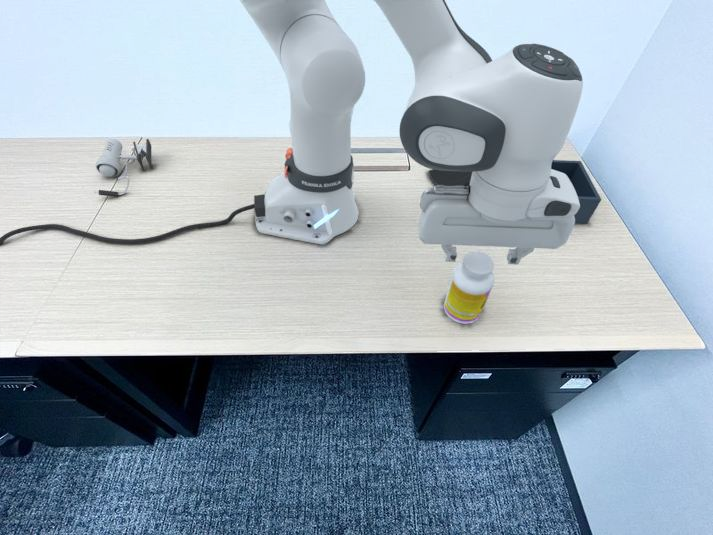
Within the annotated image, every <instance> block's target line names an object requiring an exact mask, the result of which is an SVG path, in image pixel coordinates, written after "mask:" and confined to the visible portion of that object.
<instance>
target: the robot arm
mask: <svg viewBox="0 0 713 535" xmlns="http://www.w3.org/2000/svg"><path fill="white" fill-rule="evenodd" d="M373 1H374V2H375V4H376V5H377V6H378V7H379V9H380V10H381V12H382V14H383V15H384V16H385V18H386V20H387V22H388V23H389V25H390V26H391V28H392V29H393V31H394V32H395V34H396V36H397V38H398V40H400V42H401V44H402V46H403V47H404V49H405V50H406V52H407V53H408V55H409V56H410V59H411V61H412V65H413V71H414V85H413V86H414V87H413V89H412V91H411V94H410V95H409V98H408V100H407V103H406V106H405V108H404V111H403V113H402V114H403V115H402V117H401V119H400V123H399V138H400V142H401V145H402V147H403V149H404V151H405V152H406V153H407V155H408V156H409V157H410V158H411V159H412V160H413V161H414V162H415V163H417V164H418V165H420V166H422V167H424V168H427V169H429V170H433V169H434V170H442V171H460V172H472V176H471V180H470V184H469V186H444V185H436V184H435V185H434V186H433V187H431V188H428V189H426V190H425V191H423V192H422V193H421V195H420V202H419V207H420V210H421V212H420V216H419V219H418V238H419V240H420V241H421V242H422V243H423V244H424V245H440V246H441V249H442V251H443V252H444V261H445V263H456V262H457V260H456V259H457V258H458V252H457V247H456V246H466V247H467V246H469V247H470V246H471V247H496V248H509V249H508V253H507V254H506V260H507V265H516V266H517V265H520V263H521V260H522V259H523V258H525V257H526V256H528V255H529V254H531V253H532V252H534V250H535V249H549V250H557V249H559V248H560V247H563V246H564V245H565V244H567V242H568V241H569V238H570V236H571V234H572V233H573V229H574V227H575V225H576V223H575V217H574V215H575V214H576V213H577V212H578V210H579V208H580V203H579V199H578V196H577V194H576V191H575V189H574V187H573V185H572V183H571V181H570V180H569V178H568V177H567V175H566V174H564V173H562V172H559V171H556V170H553V169H551V165H552V161H553V160H555V158H556V156H558V155H559V153H561V150H562V149H563V148H564V145H565V143H566V140H567V138H568V136H569V133H570V130H571V128H572V125H573V123H574V120H575V117H576V114H577V111H578V108H579V105H580V101H581V97H582V93H583V87H584V81H583V76H582V73H581V71H580V68H579V66H578V65H577V64H576V62H575V60H574V59H573V58H571V57H570V56H568V55H566V54H565V53H564V52H562V51H561V50H559V49H557V48H553V47H552V46H548V45H545V44H540V43H522V44H518V45H515V46H514V47H513V48H511V49H509V51H507V52H506V53H505V54H503V55H501V56H499V57H497V58H496V59H492V57H491V56H490V54H489V53H488V52H487V51H486V49H484V47H482V45H481V44H479V43H478V42H477V41H476V40H474V39H473V38H472V37H471V36H470V35H468V34H467V33H466V31H464V30H463V29H462V28H461V26H460V25H459V24H458V22H457V21H456V19H455V18H454V16H453V13H452V12H451V10H450V8H449V6H448V4H447V2H446V0H373ZM239 2H240V3H241V4H242V6H243V8H244V9H245V11H246V12H247V13H248V14H249V16H250V17H251V19H252V21H253V22H254V24H255V25H256V26H257V28H258V30H259V31H260V33H261V34H262V36H263V37H264V39H265V40H266V43H267V44H268V46H269V47H270V48H271V50H272V51H273V53H274V55H275V57H276V58H277V60H278V62H279V64H280V66H281V68H282V70H283V72H284V75H285V77H286V81H287V85H288V90H289V98H290V119H289V122H288V127H289V134H290V141H291V147H288V148H287V149H286V152H285V162H284V171H283V172H281V173H280V174H278V175H276V176H274V177H273V178H272V179H271V180H270V182H269V183H268V185H267V188H266V190H265V193H264V194H256V195H255V194H254V196H253V203H252V204H249V205H245V206H243V207H240V208H237V209H236V210H233V211H232V212H231V213H230V214H229V216H228V217H227V218H225V219H222V220H219V221H215V222H205V223H194V224H189V225H186V226H182V227H179V228H176V229H174V230H171V231H168V232H165V233H162V234H159V235H155V236H151V237H144V238H143V237H142V238H130V239H128V238H127V239H126V238H113V237H106V236H101V235H98V234H94V233H91V232H87V231H83V230H79V229H75V228H72V227H69V226H67V225H63V224H57V223H48V224H47V223H46V224H38V225H30V226H24V227H20V228H17V229H13V230H11V231H8V232H7V233H5V234H3V235H2V236H0V246H2V244H3V243H4V242H5V241H6V240H8V239H9V238H11V237H13V236H16V235H17V234H22V233H26V232H31V231H38V230H46V229H56V230H57V229H58V230H62V231H66V232H68V233H71V234H75V235H78V236H81V237H86V238H89V239H93V240H96V241H100V242H105V243H109V244H110V243H111V244H122V245H123V244H127V245H135V244H146V243H151V242H156V241H161V240H164V239H167V238H169V237H172V236H174V235H175V236H176V235H178V234H181V233H183V232H187V231H191V230H194V229H202V228H204V229H205V228H214V227H220V226H224V225H226V224H228V223H230V222H232V221H233V220H234V218H235V217H236V216H237V215H239V214H241V213H245V212H247V211H250V210H252V209H254V213H255V216H254V218H255V220H254V222H255V227H256V229H257V231H258V233H260V234H263V235H269V236H274V237H280V238H284V239H289V240H295V241H300V242H306V243H311V244H316V245H326V244H328V243H330V241H331V240H333V239H334V238H335V237H336V236H339V235H342V234H343V233H346V232H347V231H349V230H351V229H352V228H353V227H354V226H355V225H356V223H357V221H358V219H359V215H360V211H359V207H358V206H357V203H356V202H357V201H356V198H355V195H354V189H353V188H354V187H353V186H354V185H353V184H354V181H355V180H354V178H355V164H354V158H353V155H352V144H351V143H352V137H351V136H352V132H351V131H352V130H351V128H352V119H353V113H354V110H355V105H356V104H357V103H358V102H359V100H360V99H361V97H362V95H363V92H364V91H365V90H364V89H365V86H366V72H365V67H364V64H363V61H362V57H361V54H360V52H359V50H358V47H357V46H356V44H355V42H353V39H351V38H350V36H349V35H348V34H347V33H346V32H345V31H344V29H343V28H342V27H341V25H340V24H339V23H338V22H337V20H336V19H335V17H334V16H333V14H332V12H331V10H330V8H329V6H328V4H327V2H326V0H239Z"/></svg>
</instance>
